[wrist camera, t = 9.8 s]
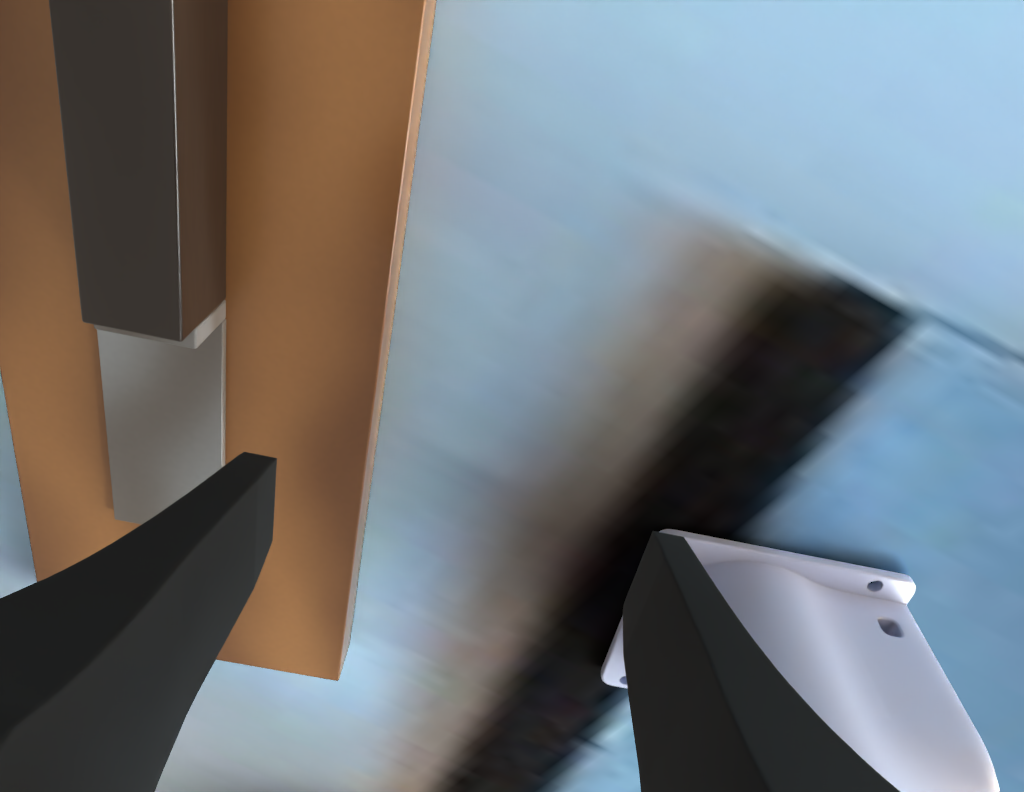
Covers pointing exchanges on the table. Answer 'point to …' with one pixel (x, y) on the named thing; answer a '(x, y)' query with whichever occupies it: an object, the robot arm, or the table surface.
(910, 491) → the table surface
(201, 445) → the two-tone stepped block
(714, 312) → the table surface
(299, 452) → the cutting board
